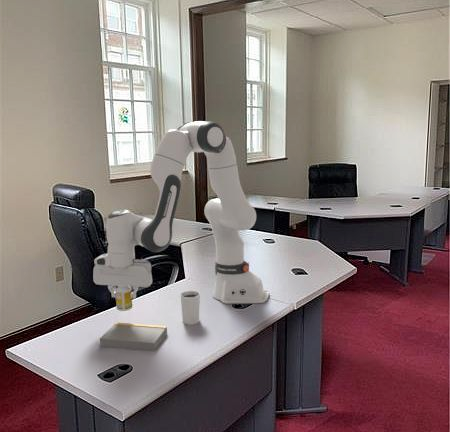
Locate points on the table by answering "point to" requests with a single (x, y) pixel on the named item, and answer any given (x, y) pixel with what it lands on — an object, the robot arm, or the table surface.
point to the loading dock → (134, 336)
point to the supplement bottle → (123, 298)
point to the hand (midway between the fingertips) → (123, 297)
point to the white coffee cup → (190, 307)
